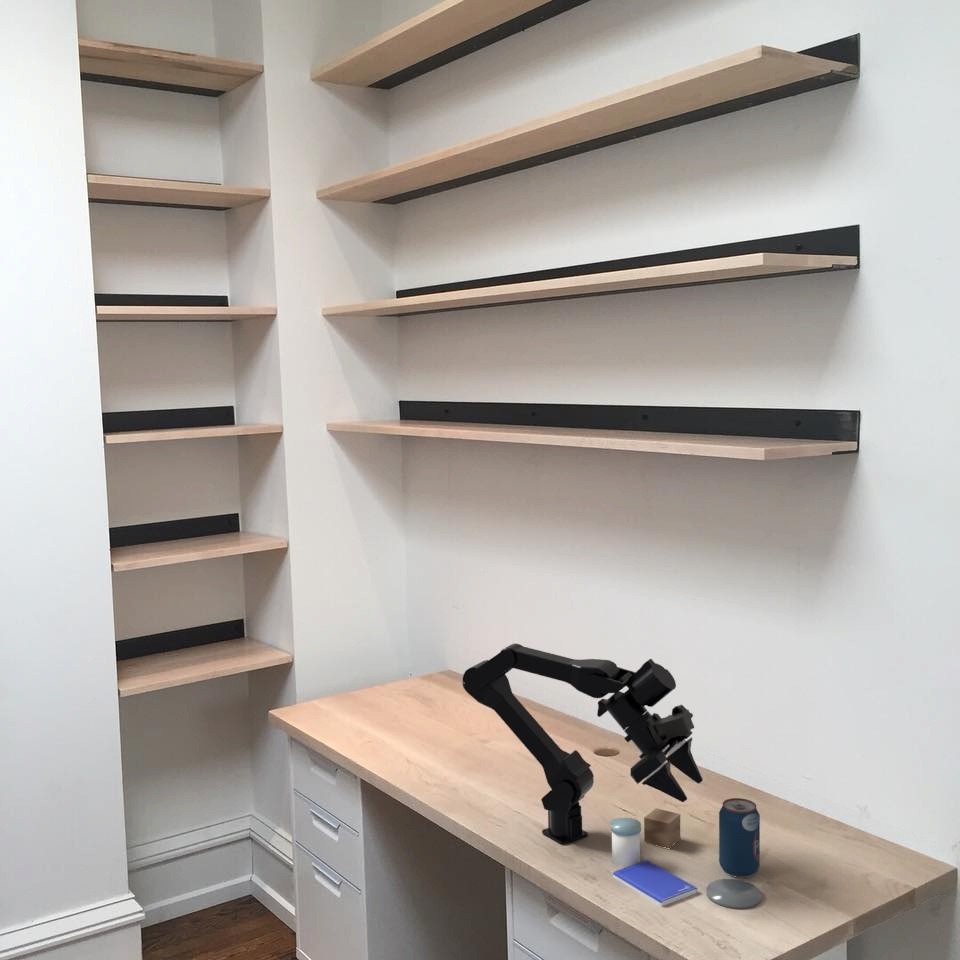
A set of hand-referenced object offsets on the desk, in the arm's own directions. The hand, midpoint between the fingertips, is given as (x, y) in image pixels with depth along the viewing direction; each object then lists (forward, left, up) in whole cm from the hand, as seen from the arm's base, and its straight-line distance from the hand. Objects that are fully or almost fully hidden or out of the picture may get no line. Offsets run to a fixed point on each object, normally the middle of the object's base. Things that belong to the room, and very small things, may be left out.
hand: (693, 791), depth 185 cm
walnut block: (-9, +2, -13) cm, 16 cm away
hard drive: (+2, -11, -14) cm, 18 cm away
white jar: (-7, -9, -13) cm, 18 cm away
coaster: (+13, -3, -13) cm, 19 cm away
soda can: (+7, +4, -13) cm, 16 cm away
